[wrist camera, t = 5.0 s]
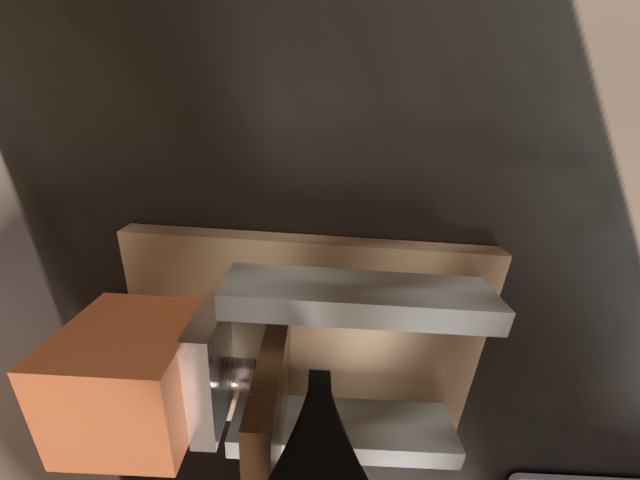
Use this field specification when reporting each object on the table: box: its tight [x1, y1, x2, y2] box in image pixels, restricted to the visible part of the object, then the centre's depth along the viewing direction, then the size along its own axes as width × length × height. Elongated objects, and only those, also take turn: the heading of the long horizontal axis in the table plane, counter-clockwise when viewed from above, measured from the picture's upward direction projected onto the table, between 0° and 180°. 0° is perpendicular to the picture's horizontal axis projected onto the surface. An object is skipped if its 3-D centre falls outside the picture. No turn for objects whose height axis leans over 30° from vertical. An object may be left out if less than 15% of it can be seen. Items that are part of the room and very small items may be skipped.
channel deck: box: [117, 223, 516, 470], centre depth 14 cm, size 16×10×4 cm, turn 86°
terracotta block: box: [7, 293, 204, 478], centre depth 12 cm, size 4×4×4 cm
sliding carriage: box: [176, 296, 291, 480], centre depth 11 cm, size 4×5×6 cm
